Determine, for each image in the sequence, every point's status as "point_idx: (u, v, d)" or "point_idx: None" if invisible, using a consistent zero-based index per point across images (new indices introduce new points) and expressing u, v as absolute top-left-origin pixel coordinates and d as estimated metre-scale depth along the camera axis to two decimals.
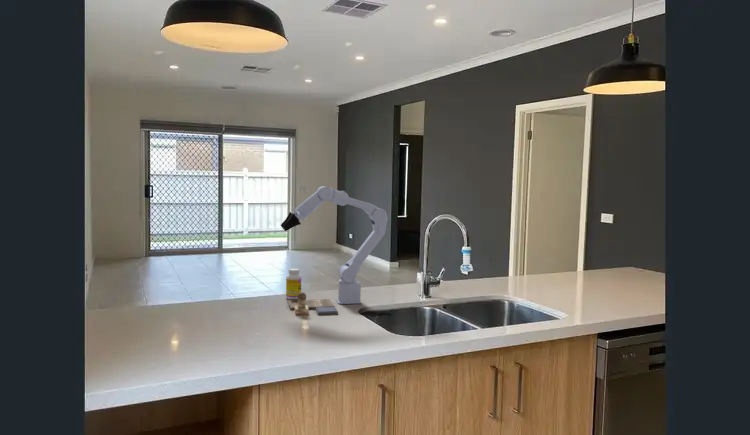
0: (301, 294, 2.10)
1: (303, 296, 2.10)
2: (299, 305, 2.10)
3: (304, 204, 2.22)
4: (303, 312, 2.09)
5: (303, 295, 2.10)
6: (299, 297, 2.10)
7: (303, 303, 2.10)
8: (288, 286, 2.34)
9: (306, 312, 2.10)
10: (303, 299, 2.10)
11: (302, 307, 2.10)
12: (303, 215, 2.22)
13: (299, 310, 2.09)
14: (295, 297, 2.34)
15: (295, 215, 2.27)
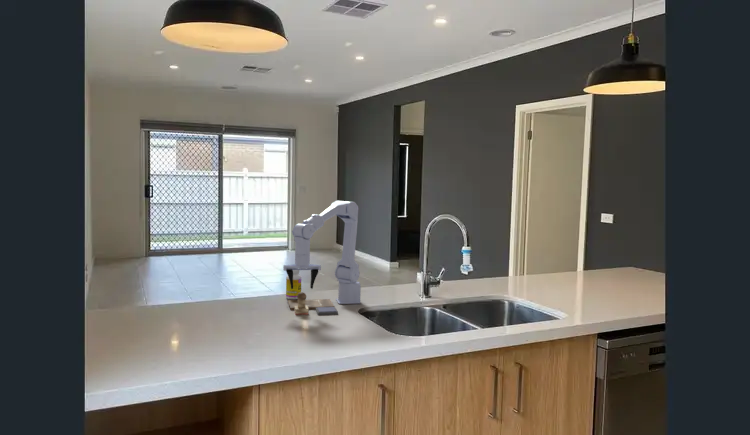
0: (301, 294, 2.10)
1: (303, 296, 2.10)
2: (299, 305, 2.10)
3: (307, 255, 2.08)
4: (303, 312, 2.09)
5: (303, 295, 2.10)
6: (299, 297, 2.10)
7: (303, 303, 2.10)
8: (288, 286, 2.34)
9: (306, 312, 2.10)
10: (303, 299, 2.10)
11: (302, 307, 2.10)
12: None
13: (299, 310, 2.09)
14: (295, 297, 2.34)
15: (293, 269, 2.09)
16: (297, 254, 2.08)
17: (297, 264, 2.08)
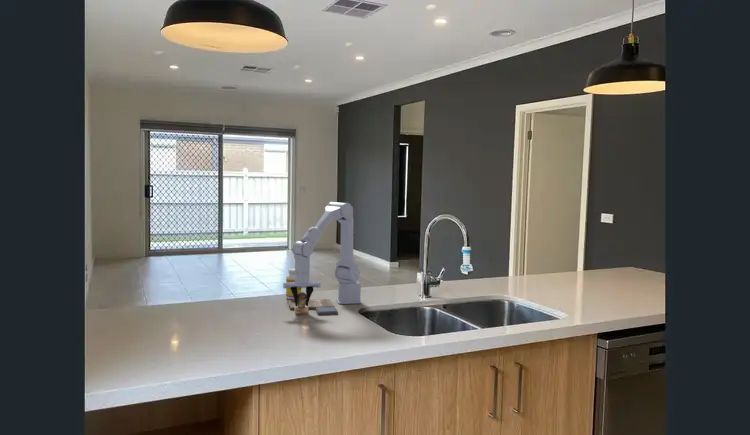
0: (301, 294, 2.10)
1: (303, 296, 2.10)
2: (299, 305, 2.10)
3: (307, 273, 2.09)
4: (303, 312, 2.09)
5: (303, 295, 2.10)
6: (299, 297, 2.10)
7: (303, 303, 2.10)
8: None
9: (306, 312, 2.10)
10: (303, 299, 2.10)
11: (302, 307, 2.10)
12: None
13: (299, 310, 2.09)
14: None
15: None
16: (297, 272, 2.08)
17: (297, 282, 2.08)
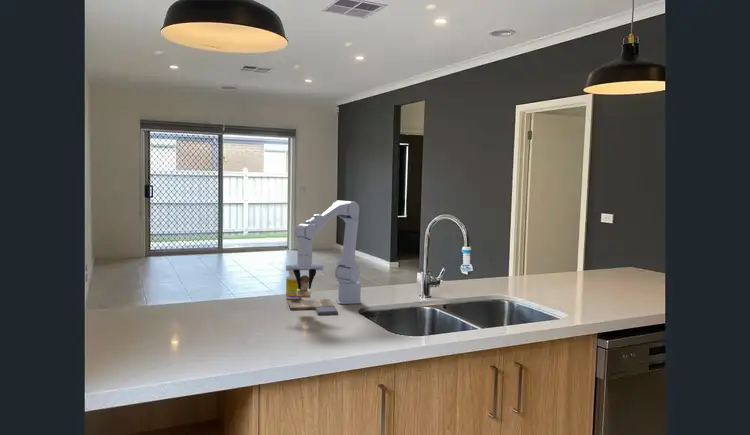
0: (304, 277, 2.10)
1: (306, 279, 2.09)
2: (301, 288, 2.10)
3: (310, 256, 2.09)
4: (305, 295, 2.09)
5: (306, 278, 2.10)
6: (302, 280, 2.09)
7: (305, 286, 2.10)
8: (288, 286, 2.34)
9: (308, 295, 2.09)
10: (306, 282, 2.10)
11: (304, 290, 2.10)
12: None
13: (301, 293, 2.09)
14: (295, 297, 2.34)
15: (296, 269, 2.10)
16: (299, 254, 2.08)
17: (299, 264, 2.08)
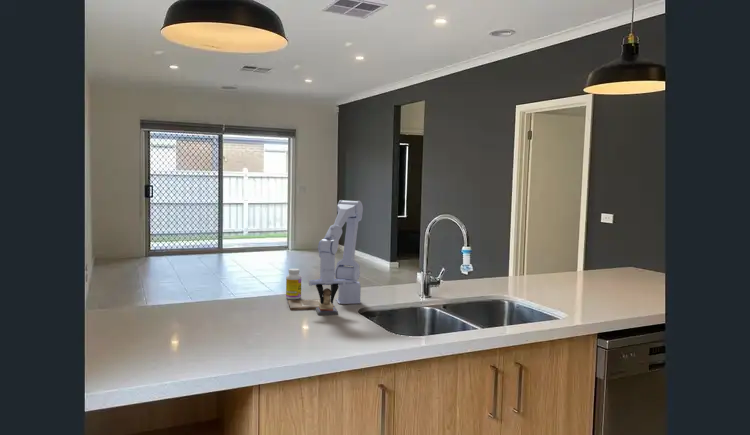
0: (326, 290, 2.12)
1: (328, 292, 2.12)
2: (324, 301, 2.12)
3: (333, 270, 2.11)
4: (328, 308, 2.11)
5: (328, 291, 2.12)
6: (324, 293, 2.12)
7: (328, 299, 2.12)
8: (288, 286, 2.34)
9: (331, 308, 2.12)
10: (328, 295, 2.12)
11: (327, 303, 2.12)
12: None
13: (324, 306, 2.11)
14: (295, 297, 2.34)
15: None
16: (322, 269, 2.10)
17: (322, 279, 2.11)
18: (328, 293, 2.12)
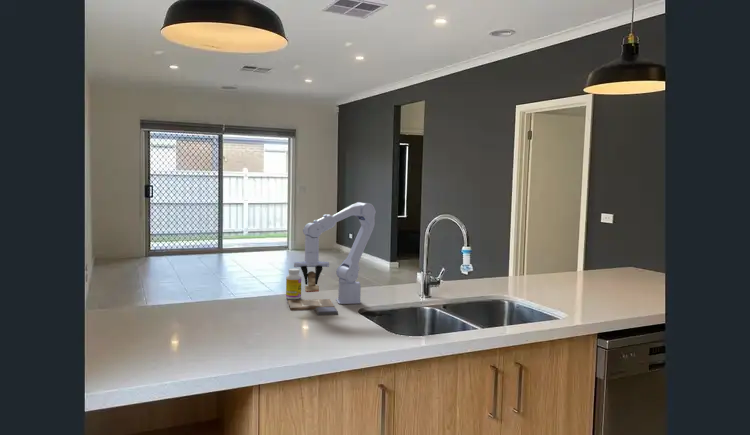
0: (311, 272, 2.21)
1: (313, 274, 2.21)
2: (309, 283, 2.21)
3: (317, 253, 2.21)
4: (314, 289, 2.20)
5: (313, 273, 2.21)
6: (309, 275, 2.21)
7: (313, 281, 2.21)
8: (288, 286, 2.34)
9: (317, 289, 2.20)
10: (313, 277, 2.21)
11: (312, 285, 2.21)
12: None
13: (310, 287, 2.20)
14: (295, 297, 2.34)
15: None
16: (307, 252, 2.20)
17: (307, 261, 2.20)
18: (313, 275, 2.21)
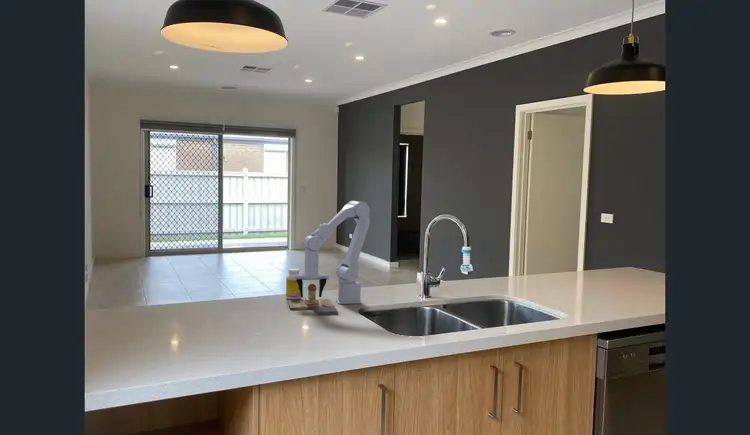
0: (312, 285, 2.21)
1: (313, 287, 2.21)
2: (310, 296, 2.21)
3: (316, 266, 2.21)
4: (314, 302, 2.20)
5: (313, 286, 2.21)
6: (310, 288, 2.21)
7: (313, 294, 2.21)
8: (288, 286, 2.34)
9: (316, 302, 2.21)
10: (313, 290, 2.21)
11: (313, 298, 2.21)
12: None
13: (310, 301, 2.20)
14: (295, 297, 2.34)
15: (303, 279, 2.22)
16: (306, 265, 2.20)
17: (306, 274, 2.21)
18: (313, 288, 2.21)
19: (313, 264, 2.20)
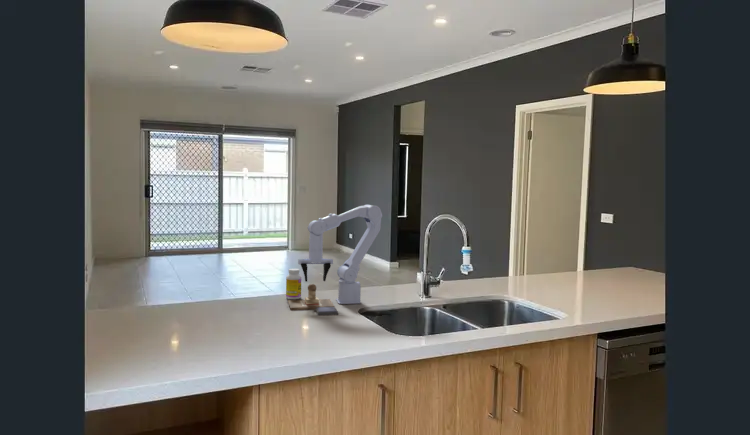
0: (312, 285, 2.21)
1: (313, 287, 2.21)
2: (310, 296, 2.21)
3: (321, 250, 2.24)
4: (314, 302, 2.20)
5: (313, 286, 2.21)
6: (310, 288, 2.21)
7: (313, 294, 2.21)
8: (288, 286, 2.34)
9: (316, 302, 2.21)
10: (313, 290, 2.21)
11: (313, 298, 2.21)
12: None
13: (310, 301, 2.20)
14: (295, 297, 2.34)
15: (307, 263, 2.24)
16: (311, 249, 2.23)
17: (311, 258, 2.23)
18: (313, 288, 2.21)
19: (316, 248, 2.22)
